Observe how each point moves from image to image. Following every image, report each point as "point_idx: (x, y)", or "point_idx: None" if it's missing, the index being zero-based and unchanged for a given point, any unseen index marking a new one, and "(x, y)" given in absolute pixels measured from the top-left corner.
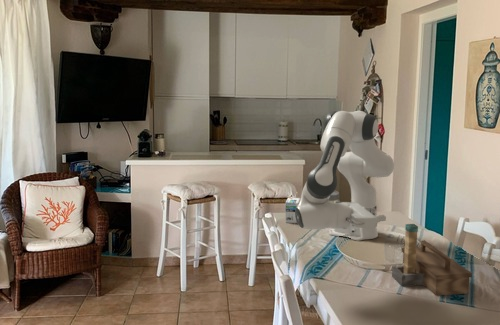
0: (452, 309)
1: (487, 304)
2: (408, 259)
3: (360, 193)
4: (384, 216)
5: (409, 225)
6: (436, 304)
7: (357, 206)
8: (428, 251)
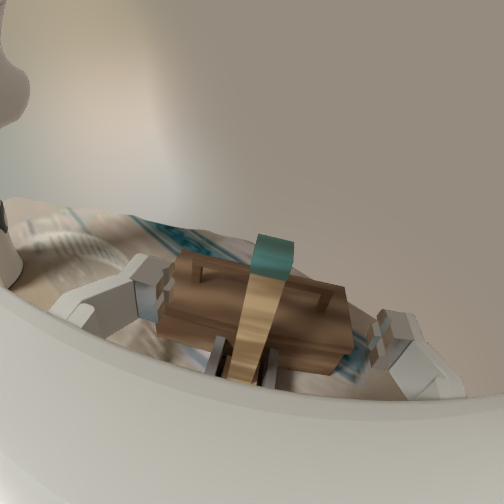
0: (386, 379)
1: (367, 322)
2: (261, 352)
3: None
4: (413, 322)
5: (275, 252)
6: (367, 395)
7: (43, 388)
8: (205, 274)
